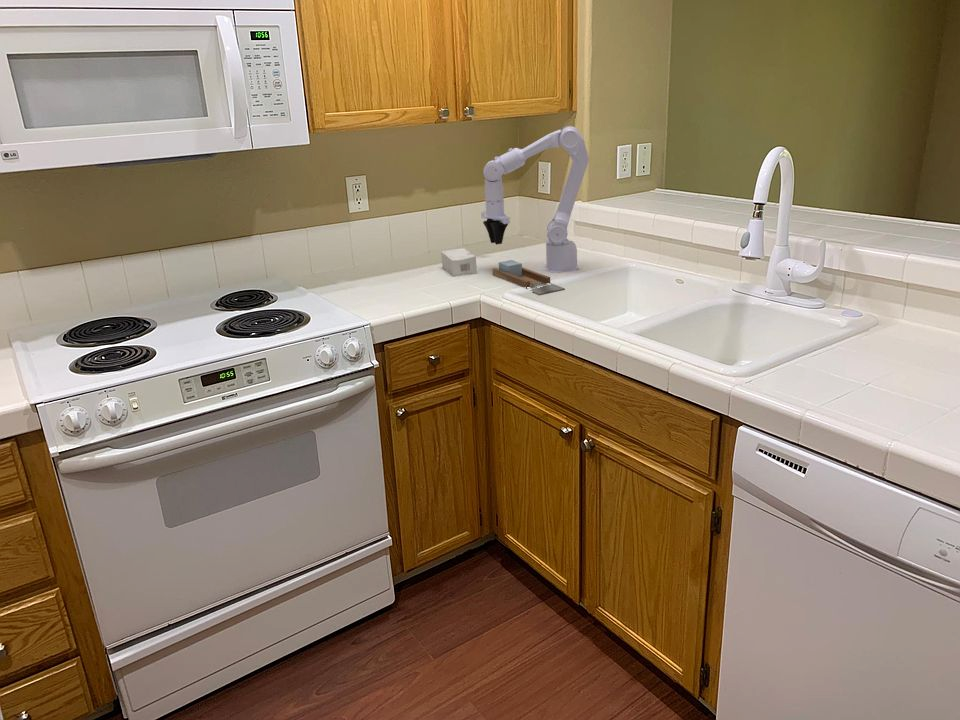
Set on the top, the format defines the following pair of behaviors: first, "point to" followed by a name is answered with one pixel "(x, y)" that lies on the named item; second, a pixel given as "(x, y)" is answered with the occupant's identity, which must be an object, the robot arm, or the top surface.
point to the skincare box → (459, 262)
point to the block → (511, 267)
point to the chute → (529, 280)
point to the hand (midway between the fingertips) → (496, 243)
